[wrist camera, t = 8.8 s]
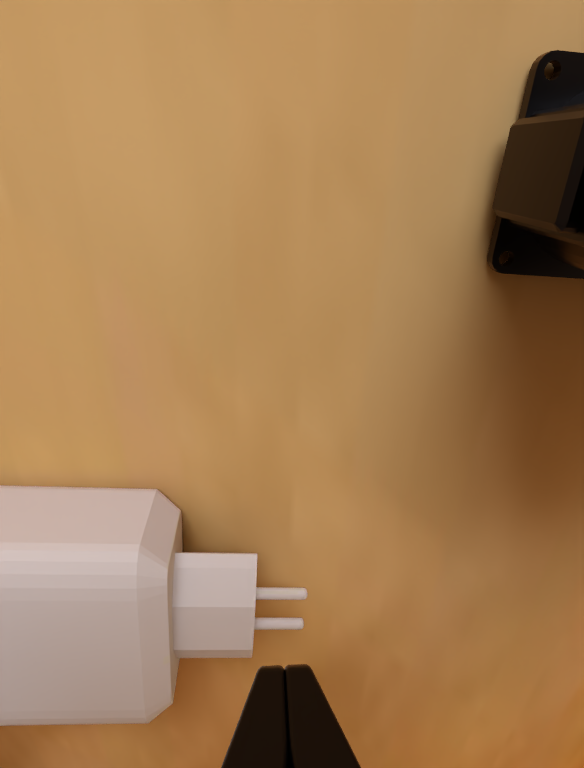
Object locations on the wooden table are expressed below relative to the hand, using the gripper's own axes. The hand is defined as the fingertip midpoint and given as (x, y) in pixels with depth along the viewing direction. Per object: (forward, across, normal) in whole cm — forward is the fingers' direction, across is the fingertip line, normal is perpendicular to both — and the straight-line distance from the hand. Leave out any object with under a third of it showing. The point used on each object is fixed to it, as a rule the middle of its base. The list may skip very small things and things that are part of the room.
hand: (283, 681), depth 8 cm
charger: (+12, +6, +9) cm, 16 cm away
